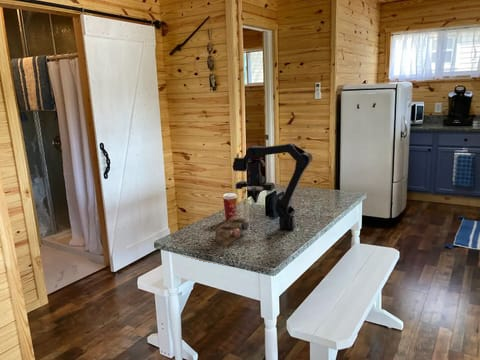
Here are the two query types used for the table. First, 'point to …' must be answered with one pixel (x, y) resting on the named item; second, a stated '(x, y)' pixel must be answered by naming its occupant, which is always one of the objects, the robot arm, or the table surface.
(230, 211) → the paper cup
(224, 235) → the mount
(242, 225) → the charcoal knob
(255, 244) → the table surface
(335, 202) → the table surface
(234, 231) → the brick knob
